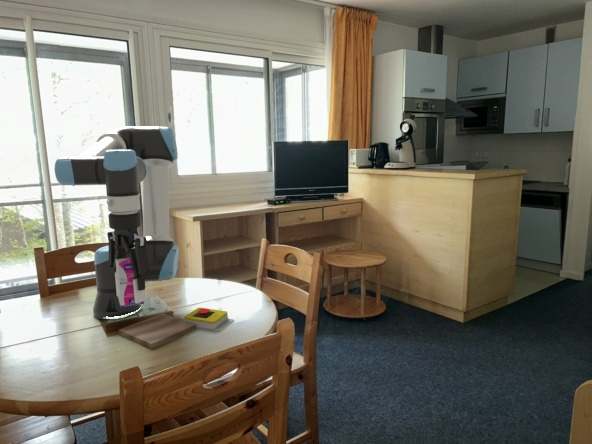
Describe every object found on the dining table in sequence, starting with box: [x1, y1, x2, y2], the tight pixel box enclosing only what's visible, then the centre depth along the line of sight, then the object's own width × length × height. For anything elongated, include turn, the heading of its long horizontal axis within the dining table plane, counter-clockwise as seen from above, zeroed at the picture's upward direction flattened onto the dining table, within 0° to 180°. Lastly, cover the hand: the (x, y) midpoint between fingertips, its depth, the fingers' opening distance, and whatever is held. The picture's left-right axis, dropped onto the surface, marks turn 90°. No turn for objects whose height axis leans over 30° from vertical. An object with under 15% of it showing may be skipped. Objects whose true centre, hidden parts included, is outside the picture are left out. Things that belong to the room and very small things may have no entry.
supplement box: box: [116, 258, 145, 307], centre depth 112 cm, size 6×6×12 cm
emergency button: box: [183, 307, 235, 332], centre depth 138 cm, size 9×4×15 cm
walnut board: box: [118, 313, 197, 350], centre depth 131 cm, size 16×16×2 cm
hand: (131, 298), depth 112 cm, fingers closed on supplement box, 7 cm apart
